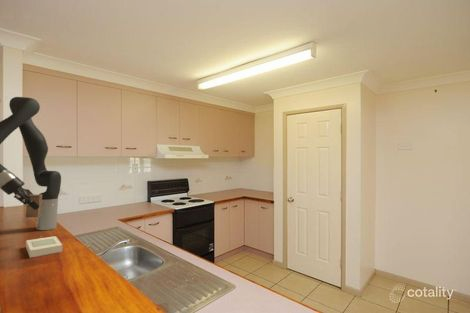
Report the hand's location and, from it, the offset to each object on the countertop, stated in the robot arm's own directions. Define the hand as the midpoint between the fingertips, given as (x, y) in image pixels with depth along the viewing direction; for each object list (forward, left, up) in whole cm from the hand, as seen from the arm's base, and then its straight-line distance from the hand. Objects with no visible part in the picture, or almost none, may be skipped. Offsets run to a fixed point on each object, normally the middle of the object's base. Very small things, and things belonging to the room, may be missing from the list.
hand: (39, 207), depth 119 cm
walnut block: (0, -2, -4) cm, 5 cm away
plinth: (+9, +7, -17) cm, 20 cm away
